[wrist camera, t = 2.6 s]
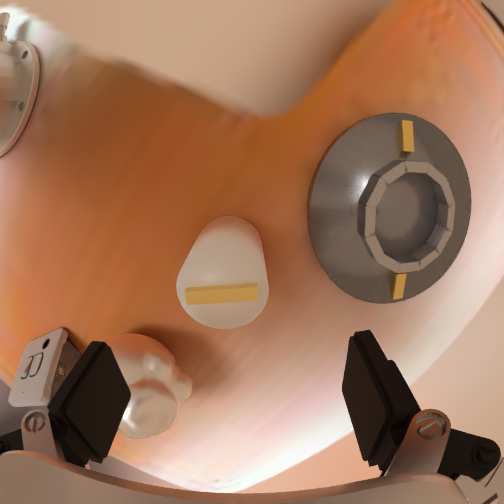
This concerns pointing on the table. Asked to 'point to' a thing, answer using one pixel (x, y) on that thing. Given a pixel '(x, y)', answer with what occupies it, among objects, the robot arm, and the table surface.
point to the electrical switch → (43, 370)
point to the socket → (388, 207)
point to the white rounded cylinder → (224, 275)
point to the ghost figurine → (149, 384)
